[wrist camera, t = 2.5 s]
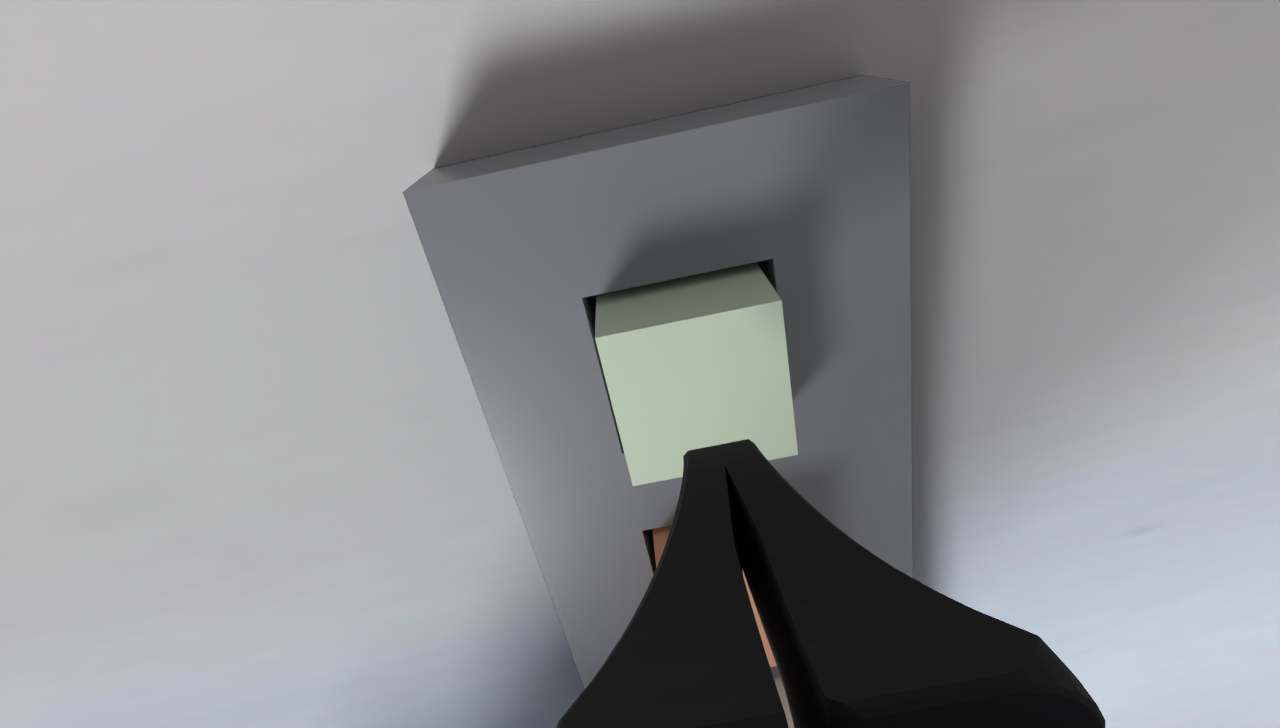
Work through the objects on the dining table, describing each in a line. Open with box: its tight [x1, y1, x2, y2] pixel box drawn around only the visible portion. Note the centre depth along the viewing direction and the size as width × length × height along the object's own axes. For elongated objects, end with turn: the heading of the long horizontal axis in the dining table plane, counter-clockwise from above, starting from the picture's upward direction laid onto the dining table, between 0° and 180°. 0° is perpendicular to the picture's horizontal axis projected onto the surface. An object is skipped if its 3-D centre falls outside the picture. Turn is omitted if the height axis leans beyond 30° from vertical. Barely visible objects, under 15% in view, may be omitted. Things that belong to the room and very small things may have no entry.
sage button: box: [595, 262, 798, 486], centre depth 17 cm, size 4×4×3 cm
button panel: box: [403, 75, 913, 689], centre depth 23 cm, size 28×12×3 cm, turn 11°
